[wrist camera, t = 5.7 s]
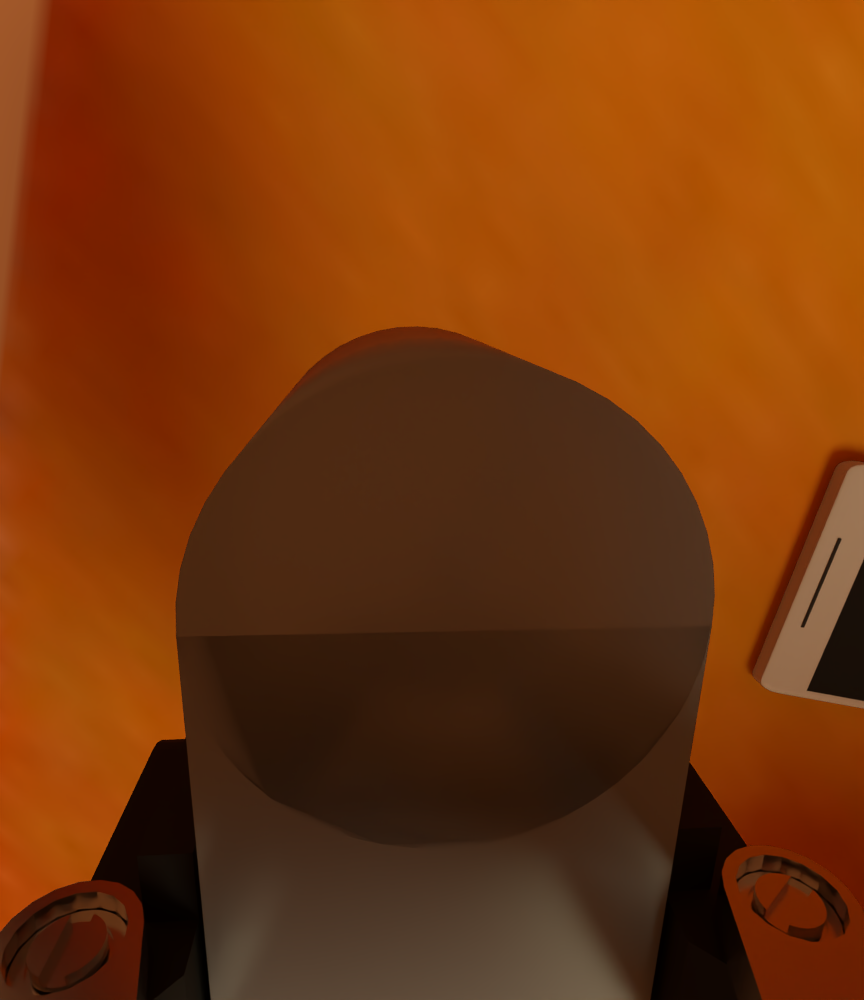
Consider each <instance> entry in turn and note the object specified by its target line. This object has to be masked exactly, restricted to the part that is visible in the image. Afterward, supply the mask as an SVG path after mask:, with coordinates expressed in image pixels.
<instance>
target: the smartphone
mask: <svg viewBox="0 0 864 1000" xmlns="http://www.w3.org/2000/svg"><path fill="white" fill-rule="evenodd" d="M753 677H754V678H755V679H756V680H757V681H758V682H759V683H760V684H761V685H762V686H763V687H764V688H766V689H768V690H770V691H773V692H776V693H781V694H786V695H792V696H798V697H803V698H809V699H814V700H820V701H825V702H831V703H836V704H842V705H847V706H853V707H858V708H864V462H859V461H845V462H842V463H839V464H838V465H837V466H836V468H835V470H834V473H833V475H832V478H831V480H830V482H829V485H828V487H827V490H826V492H825V495H824V497H823V500H822V502H821V505H820V507H819V509H818V512H817V514H816V517H815V519H814V522H813V524H812V527H811V529H810V532H809V534H808V537H807V539H806V541H805V544H804V546H803V549H802V551H801V554H800V556H799V559H798V561H797V564H796V566H795V569H794V571H793V573H792V576H791V578H790V581H789V583H788V586H787V588H786V591H785V593H784V596H783V598H782V601H781V603H780V605H779V608H778V610H777V613H776V615H775V618H774V620H773V623H772V625H771V628H770V630H769V633H768V635H767V637H766V640H765V642H764V645H763V647H762V650H761V652H760V655H759V657H758V660H757V662H756V664H755V667H754V669H753Z"/></svg>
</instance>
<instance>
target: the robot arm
mask: <svg viewBox="0 0 864 1000" xmlns="http://www.w3.org/2000/svg"><path fill="white" fill-rule="evenodd" d="M0 1000H211V996H210V985H209V975H208V964H207V954H206V943H205V933H204V922H203V912H202V901H201V891H200V880H199V870H198V859H197V849H196V838H195V828H194V817H193V807H192V796H191V786H190V775H189V765H188V754H187V744H186V738H185V739H176V740H161V741H159V742H157V744H156V746H155V747H154V749H153V751H152V753H151V755H150V757H149V759H148V761H147V763H146V766H145V768H144V770H143V772H142V774H141V776H140V778H139V780H138V782H137V785H136V787H135V789H134V791H133V793H132V795H131V797H130V799H129V801H128V803H127V806H126V808H125V810H124V812H123V814H122V816H121V818H120V820H119V822H118V825H117V827H116V829H115V831H114V833H113V835H112V837H111V839H110V841H109V844H108V846H107V848H106V850H105V852H104V854H103V856H102V858H101V860H100V863H99V865H98V867H97V869H96V871H95V873H94V875H93V877H92V879H91V881H85V882H78V883H75V884H72V885H68V886H65V887H62V888H59V889H56V890H54V891H52V892H50V893H49V894H47V895H45V896H43V897H41V898H39V899H37V900H36V901H34V902H32V903H31V904H30V905H28V906H27V907H26V908H25V909H23V910H22V911H21V912H20V913H18V914H17V915H16V916H14V917H13V918H12V919H11V920H10V921H9V923H8V924H7V925H6V926H5V927H4V928H3V930H2V931H1V932H0ZM650 1000H864V911H863V909H862V907H861V905H860V904H859V902H858V901H857V900H856V898H855V897H854V896H853V894H852V893H851V891H850V890H849V889H848V887H847V886H846V885H845V884H843V883H842V882H841V881H840V880H839V879H838V878H837V877H836V876H835V875H833V874H832V873H831V872H830V871H829V870H827V869H825V868H824V867H822V866H821V865H819V864H818V863H816V862H814V861H813V860H811V859H809V858H807V857H805V856H802V855H800V854H798V853H795V852H793V851H790V850H787V849H783V848H778V847H774V846H769V845H750V846H747V845H746V844H745V842H744V841H743V839H742V838H741V836H740V835H739V834H738V832H737V831H736V829H735V828H734V826H733V825H732V823H731V822H730V820H729V819H728V818H727V816H726V815H725V813H724V812H723V810H722V809H721V807H720V806H719V804H718V803H717V801H716V800H715V799H714V797H713V796H712V794H711V793H710V791H709V790H708V788H707V787H706V785H705V784H704V783H703V781H702V780H701V778H700V777H699V775H698V774H697V772H696V771H695V769H694V768H693V767H692V765H691V764H690V762H689V767H688V773H687V779H686V785H685V791H684V797H683V804H682V810H681V816H680V822H679V828H678V834H677V840H676V846H675V852H674V858H673V865H672V871H671V877H670V883H669V889H668V895H667V901H666V907H665V913H664V919H663V926H662V932H661V938H660V944H659V950H658V956H657V962H656V968H655V974H654V981H653V987H652V993H651V999H650Z"/></svg>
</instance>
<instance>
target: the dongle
mask: <svg viewBox="0 0 864 1000" xmlns="http://www.w3.org/2000/svg"><path fill="white" fill-rule="evenodd" d="M713 606H714V573H713V561H712V555H711V550H710V545H709V540H708V534H707V531H706V528H705V525H704V522H703V519H702V516H701V513H700V510H699V508H698V505H697V502H696V500H695V498H694V496H693V494H692V492H691V490H690V489H689V487H688V485H687V483H686V481H685V479H684V477H683V475H682V473H681V472H680V470H679V469H678V468H677V466H676V465H675V464H674V462H673V461H672V459H671V458H670V457H669V455H668V454H667V453H666V451H665V450H664V448H663V447H662V446H661V445H660V444H659V443H658V442H657V441H656V440H655V439H654V438H653V437H652V436H651V435H650V434H649V433H648V432H647V430H646V429H645V428H644V427H643V426H642V425H641V424H640V423H639V422H638V421H636V420H635V419H634V418H632V417H631V416H630V415H629V414H627V413H626V412H625V411H623V410H622V409H621V408H619V407H618V406H617V405H615V404H614V403H613V402H611V401H610V400H609V399H607V398H605V397H603V396H601V395H600V394H598V393H596V392H594V391H592V390H590V389H589V388H587V387H585V386H583V385H581V384H580V383H578V382H576V381H573V380H571V379H568V378H566V377H563V376H561V375H559V374H556V373H554V372H551V371H549V370H547V369H544V368H542V367H539V366H537V365H535V364H532V363H530V362H527V361H525V360H522V359H520V358H518V357H515V356H513V355H510V354H508V353H506V352H503V351H501V350H498V349H496V348H493V347H491V346H489V345H486V344H484V343H481V342H479V341H477V340H474V339H471V338H469V337H466V336H464V335H461V334H458V333H455V332H451V331H446V330H442V329H438V328H428V327H397V328H391V329H386V330H380V331H376V332H373V333H370V334H367V335H363V336H360V337H358V338H356V339H353V340H351V341H349V342H347V343H345V344H343V345H341V346H339V347H338V348H336V349H335V350H333V351H332V352H330V353H329V354H327V355H326V356H324V357H323V358H322V359H321V360H320V361H318V362H317V363H316V364H315V365H314V366H313V367H312V368H310V369H309V370H308V371H307V373H306V374H305V375H304V376H303V377H302V378H301V380H300V381H299V382H298V383H297V384H296V385H295V387H294V388H293V389H292V390H291V391H290V393H289V394H288V395H287V396H286V398H285V399H284V400H283V401H282V402H281V404H280V405H279V406H278V407H277V409H276V410H275V411H274V412H273V413H272V415H271V416H270V417H269V418H268V420H267V421H266V422H265V423H264V424H263V426H262V427H261V428H260V429H259V431H258V432H257V433H256V434H255V435H254V437H253V438H252V439H251V440H250V441H249V443H248V444H247V445H246V446H245V448H244V449H243V450H242V451H241V452H240V454H239V455H238V456H237V457H236V459H235V460H234V461H233V462H232V463H231V465H230V466H229V467H228V468H227V470H226V471H225V472H224V474H223V475H222V477H221V478H220V480H219V481H218V483H217V485H216V486H215V488H214V489H213V491H212V492H211V494H210V495H209V497H208V499H207V500H206V502H205V503H204V506H203V508H202V510H201V512H200V514H199V517H198V519H197V521H196V523H195V525H194V528H193V530H192V532H191V534H190V537H189V540H188V544H187V547H186V551H185V554H184V558H183V561H182V565H181V568H180V574H179V582H178V589H177V597H176V639H177V649H178V660H179V670H180V681H181V691H182V702H183V712H184V723H185V733H186V744H187V754H188V765H189V775H190V786H191V796H192V807H193V817H194V828H195V838H196V849H197V859H198V870H199V880H200V891H201V901H202V912H203V922H204V933H205V943H206V954H207V964H208V975H209V985H210V996H211V1000H650V999H651V993H652V987H653V981H654V974H655V968H656V962H657V956H658V950H659V944H660V938H661V932H662V926H663V919H664V913H665V907H666V901H667V895H668V889H669V883H670V877H671V871H672V865H673V858H674V852H675V846H676V840H677V834H678V828H679V822H680V816H681V810H682V804H683V797H684V791H685V785H686V779H687V773H688V767H689V761H690V755H691V749H692V742H693V736H694V730H695V724H696V718H697V712H698V706H699V700H700V694H701V688H702V681H703V675H704V669H705V663H706V657H707V651H708V645H709V639H710V633H711V627H712V616H713Z"/></svg>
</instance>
